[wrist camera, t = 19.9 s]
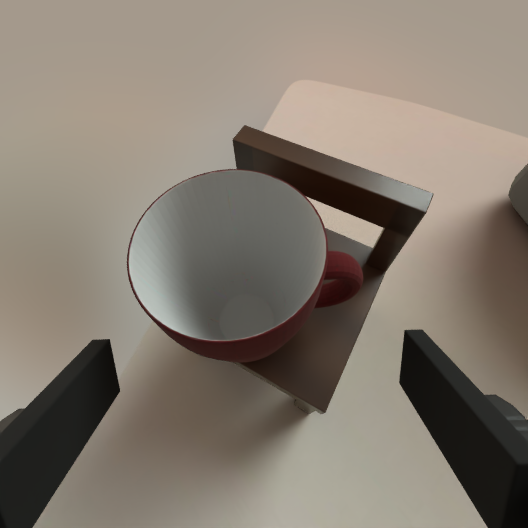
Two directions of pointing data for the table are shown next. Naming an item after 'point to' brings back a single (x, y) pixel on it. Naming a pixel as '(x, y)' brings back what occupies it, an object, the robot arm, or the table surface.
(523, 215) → the alarm clock
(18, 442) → the robot arm
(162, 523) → the table surface
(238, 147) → the chair
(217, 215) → the mug
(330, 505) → the table surface
